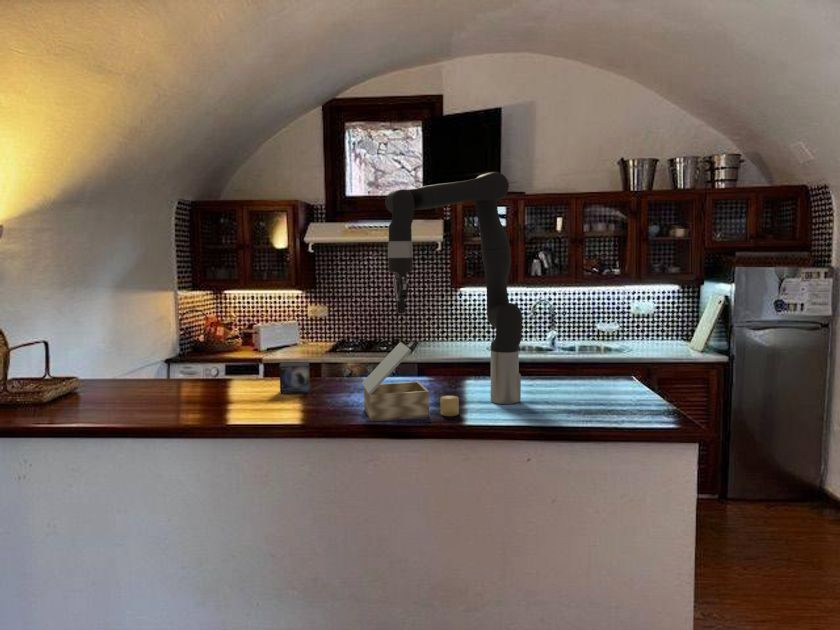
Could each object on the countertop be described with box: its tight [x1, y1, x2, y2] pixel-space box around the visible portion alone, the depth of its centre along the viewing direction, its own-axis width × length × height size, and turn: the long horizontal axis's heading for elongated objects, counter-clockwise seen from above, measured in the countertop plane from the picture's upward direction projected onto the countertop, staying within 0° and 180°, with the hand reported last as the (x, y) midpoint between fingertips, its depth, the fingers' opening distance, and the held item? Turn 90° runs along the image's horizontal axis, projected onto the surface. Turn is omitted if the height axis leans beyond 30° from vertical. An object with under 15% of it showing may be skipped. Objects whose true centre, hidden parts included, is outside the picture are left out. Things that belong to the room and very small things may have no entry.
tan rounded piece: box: [440, 395, 460, 417], centre depth 184 cm, size 6×6×5 cm
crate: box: [363, 381, 430, 422], centre depth 185 cm, size 18×14×8 cm
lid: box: [361, 341, 412, 395], centre depth 184 cm, size 18×14×1 cm
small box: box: [279, 361, 311, 395], centre depth 214 cm, size 11×6×10 cm, turn 101°
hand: (401, 312), depth 183 cm, fingers closed
